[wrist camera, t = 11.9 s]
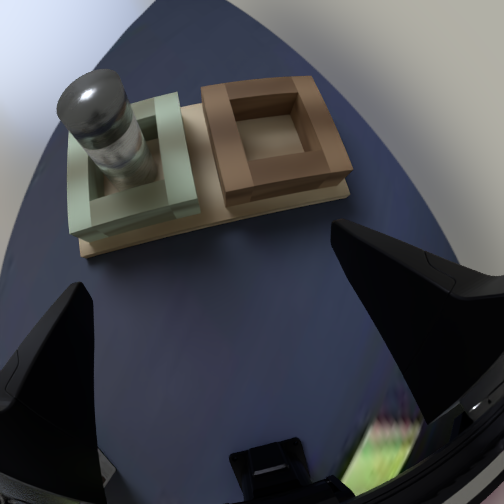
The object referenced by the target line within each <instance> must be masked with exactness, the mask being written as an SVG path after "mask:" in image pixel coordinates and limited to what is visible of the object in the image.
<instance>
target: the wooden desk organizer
mask: <svg viewBox="0 0 504 504" xmlns="http://www.w3.org/2000/svg"><path fill="white" fill-rule="evenodd" d="M201 96H202V103H200V104H195V105H190V106H185V107H181V108H180V104H179V98H178V93H177V92H175V93H170V94H166V95H162V96H158V97H154V98H150V99H147V100H143V101H140V102H136V103H133V104H130V105H131V107H132V110H133V112H134V115H135V117H136V120H137V122H138V125H139V127H140V129H141V132H142V134H143V136H144V139H145V141H146V144H147V146H148V148H149V150H150V153H151V155H152V157H153V160H154V162H155V164H156V168H157V174H156V178H155V180H154V182H153V183H149V184H145V185H142V186H138V187H134V188H131V189H127V190H124V191H121V192H119V191H118V190H117V189H116V187H115V186H114V185H113V184H112V183H111V182H110V180H109V179H108V178H107V177H106V176H105V175H104V173H103V172H102V171H101V170H100V169H99V167H98V166H97V165H96V164H95V163H94V161H93V160H92V159H91V158H90V157H89V155H88V154H87V153H86V152H85V150H84V149H83V148H82V147H81V145H80V144H79V143H78V142H77V140H76V139H75V138H74V137H73V135H72V134H71V133H70V132H69V139H68V159H67V201H68V222H69V234H71V235H73V236H75V237H77V238H79V245H80V253H81V257H83V258H89V257H93V256H97V255H100V254H104V253H108V252H111V251H115V250H119V249H122V248H126V247H130V246H134V245H138V244H142V243H145V242H149V241H153V240H157V239H161V238H165V237H169V236H173V235H177V234H181V233H186V232H190V231H194V230H198V229H202V228H206V227H211V226H215V225H219V224H224V223H228V222H232V221H237V220H241V219H246V218H250V217H255V216H259V215H264V214H269V213H273V212H278V211H283V210H288V209H292V208H297V207H302V206H307V205H312V204H317V203H322V202H327V201H333V200H338V199H343V198H347V197H348V196H349V195H350V192H349V189H348V186H347V183H346V180H345V177H346V176H347V175H348V174H349V173H350V172H351V171H352V170H353V167H352V165H351V162H350V160H349V157H348V155H347V152H346V150H345V147H344V145H343V142H342V140H341V138H340V135H339V133H338V131H337V128H336V126H335V124H334V122H333V119H332V117H331V115H330V113H329V111H328V109H327V106H326V104H325V102H324V100H323V98H322V96H321V94H320V92H319V90H318V88H317V86H316V84H315V82H314V80H313V78H312V76H294V77H277V78H264V79H254V80H245V81H237V82H229V83H222V84H216V85H210V86H204V87H201Z"/></svg>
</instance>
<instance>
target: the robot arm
mask: <svg viewBox="0 0 504 504" xmlns="http://www.w3.org/2000/svg"><path fill="white" fill-rule="evenodd" d="M331 246H332V248H333V250H334V252H335V254H336V256H337V258H338V260H339V262H340V264H341V266H342V268H343V271H344V273H345V275H346V277H347V279H348V280H349V282H350V284H351V285H352V287H353V289H354V290H355V292H356V294H357V295H358V297H359V299H360V300H361V302H362V304H363V305H364V307H365V309H366V310H367V312H368V314H369V315H370V317H371V319H372V320H373V322H374V324H375V326H376V327H377V329H378V331H379V333H380V334H381V336H382V338H383V340H384V341H385V343H386V345H387V347H388V349H389V350H390V352H391V354H392V356H393V358H394V360H395V361H396V363H397V365H398V367H399V369H400V371H401V373H402V375H403V377H404V379H405V381H406V383H407V385H408V386H409V388H410V390H411V392H412V394H413V396H414V398H415V400H416V402H417V404H418V406H419V408H420V411H421V413H422V415H423V417H424V419H425V421H426V423H427V424H428V425H429V424H431V423H432V422H434V421H435V420H437V419H438V418H440V417H441V416H442V415H444V414H445V413H447V412H448V411H449V410H451V409H452V408H453V407H455V406H456V405H457V404H459V403H460V404H461V405H462V407H463V408H464V410H465V411H464V412H463V413H462V414H460V415H459V416H458V417H457V418H455V419H454V424H453V429H452V433H451V437H450V441H449V443H447V444H446V445H445V446H443V447H442V448H441V449H439V450H438V451H436V452H435V453H433V454H432V455H430V456H429V457H427V458H426V459H424V460H423V461H421V462H420V463H418V464H416V465H415V466H413V467H412V468H410V469H408V470H407V471H405V472H403V473H401V474H400V475H398V476H396V477H394V478H392V479H391V480H389V481H387V482H385V483H383V484H381V485H379V486H377V487H375V488H373V489H371V490H369V491H367V492H365V493H362V494H360V495H358V496H355V495H354V493H353V492H352V491H351V490H350V489H349V488H348V487H347V486H346V485H344V484H343V483H342V482H341V481H340V480H339V479H337V478H336V477H335V476H334V475H331V476H328V477H326V479H323V480H321V481H318V482H315V483H312V481H311V479H310V475H309V471H308V467H307V463H306V459H305V455H304V452H303V448H302V444H301V441H300V439H299V438H297V437H295V438H291V439H288V440H284V441H281V442H274V443H270V444H267V445H263V446H259V447H255V448H251V449H249V450H246V451H241V452H237V453H232V454H231V455H230V456H229V461H230V464H231V466H232V469H233V471H234V473H235V476H236V478H237V481H238V483H239V485H240V488H241V490H242V492H243V496H244V501H243V502H238V503H232V504H480V503H481V502H482V501H483V500H485V499H486V498H487V497H488V496H489V495H490V494H491V493H492V492H493V491H494V490H495V489H496V488H497V487H498V486H499V485H500V484H501V483H502V482H503V481H504V275H502V276H490V275H486V274H483V273H480V272H478V271H475V270H472V269H470V268H467V267H464V266H462V265H459V264H456V263H454V262H451V261H449V260H446V259H444V258H441V257H439V256H436V255H434V254H432V253H429V252H427V251H424V250H422V249H420V248H417V247H415V246H413V245H410V244H408V243H405V242H403V241H400V240H398V239H395V238H393V237H390V236H388V235H385V234H383V233H380V232H378V231H375V230H372V229H370V228H367V227H364V226H362V225H359V224H356V223H354V222H351V221H348V220H346V219H338V220H334V221H333V222H332V224H331ZM296 441H297V443H296V444H293V443H294V442H296ZM234 457H236V458H237V459H232V458H234ZM80 503H84V504H107V501H106V496H105V491H104V486H103V480H102V474H101V468H100V461H99V453H98V446H97V436H96V424H95V407H94V312H93V300H92V298H91V296H90V294H89V293H88V291H87V289H86V288H85V286H84V284H83V283H82V282H76V283H72V284H71V285H70V286H69V287H68V288H67V289H66V290H65V291H64V292H63V293H62V294H61V296H60V297H59V298H58V299H57V300H56V301H55V303H54V304H53V305H52V306H51V307H50V308H49V310H48V311H47V312H46V313H45V314H44V315H43V317H42V318H41V319H40V320H39V322H38V323H37V324H36V325H35V327H34V328H33V329H32V330H31V332H30V333H29V334H28V335H27V337H26V338H25V339H24V341H23V342H22V343H21V345H20V346H19V347H18V350H16V351H15V353H14V354H13V355H12V357H11V358H10V359H9V361H8V362H7V363H6V365H5V366H4V367H3V369H2V370H1V371H0V504H80ZM225 504H229V503H225Z"/></svg>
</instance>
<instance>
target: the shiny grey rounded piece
mask: <svg viewBox="0 0 504 504" xmlns="http://www.w3.org/2000/svg"><path fill="white" fill-rule="evenodd" d="M57 115H58V117H59V119H60V120H61V121H62V123H63V124H64V125H65V126H66V128H67V129H68V130H69V132H70V133H71V134H72V135H73V137H74V138H75V139H76V140H77V142H78V143H79V144H80V145H81V147H82V148H83V149H84V150H85V152H86V153H87V154H88V155H89V157H90V158H91V159H92V160H93V161H94V163H95V164H96V165H97V166H98V167H99V169H100V170H101V171H102V172H103V173H104V175H105V176H106V177H107V178H108V179H109V180H110V182H111V183H112V184H113V185H114V186H115V187H116V189H117V190H118V191H119V192H121V191H124V190H127V189H131V188H134V187H138V186H142V185H145V184H149V183H153V182H154V180H155V178H156V174H157V168H156V164H155V162H154V160H153V157H152V155H151V153H150V150H149V148H148V146H147V144H146V141H145V139H144V136H143V134H142V132H141V129H140V127H139V125H138V122H137V120H136V117H135V115H134V112H133V110H132V107H131V105H130V103H129V100H128V97H127V95H126V92H125V90H124V87H123V85H122V82H121V79H120V77H119V75H118V74H117V73H116V72H115V71H112V70H109V69H99V70H94V71H91V72H89V73H86V74H85V75H82V76H81V77H79V78H78V79H76V80H75V81H74V82H72V83H71V84H70V85H69V86H68V87H67V88H66V89H65V91H64V92H63V93H62V95H61V97H60V99H59V101H58V104H57Z"/></svg>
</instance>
